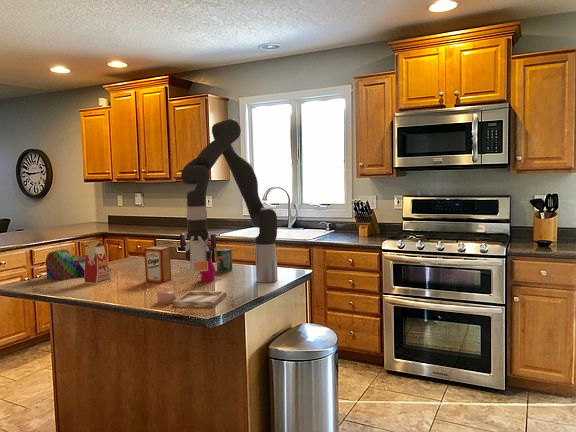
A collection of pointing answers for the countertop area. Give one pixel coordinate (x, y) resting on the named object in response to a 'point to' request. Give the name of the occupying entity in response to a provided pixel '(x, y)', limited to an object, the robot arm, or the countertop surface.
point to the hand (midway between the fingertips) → (198, 260)
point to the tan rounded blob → (166, 296)
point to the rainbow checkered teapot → (64, 265)
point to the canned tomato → (224, 259)
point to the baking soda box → (157, 264)
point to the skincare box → (198, 257)
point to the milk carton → (96, 264)
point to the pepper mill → (211, 270)
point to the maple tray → (200, 299)
